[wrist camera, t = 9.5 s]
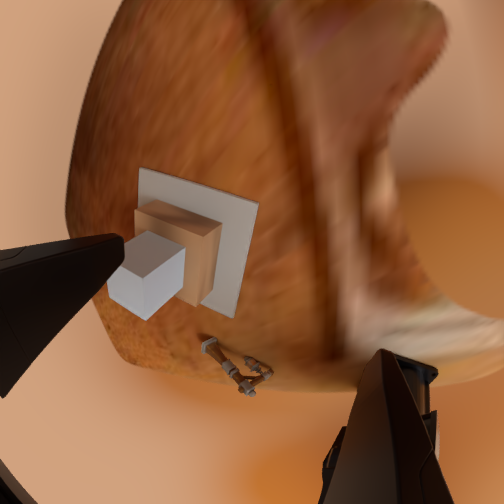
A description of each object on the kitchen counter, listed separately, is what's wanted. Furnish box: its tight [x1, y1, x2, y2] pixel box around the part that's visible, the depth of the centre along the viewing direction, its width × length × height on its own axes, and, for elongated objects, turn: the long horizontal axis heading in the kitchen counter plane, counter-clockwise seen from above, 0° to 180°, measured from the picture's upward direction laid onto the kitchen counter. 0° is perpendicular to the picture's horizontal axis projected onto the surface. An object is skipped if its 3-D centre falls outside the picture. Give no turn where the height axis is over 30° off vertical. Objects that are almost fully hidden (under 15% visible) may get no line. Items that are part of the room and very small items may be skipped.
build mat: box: [138, 167, 259, 319], centre depth 25 cm, size 12×12×1 cm
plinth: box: [134, 199, 223, 307], centre depth 24 cm, size 7×7×3 cm
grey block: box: [107, 230, 186, 321], centre depth 20 cm, size 4×4×5 cm
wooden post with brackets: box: [201, 337, 274, 397], centre depth 28 cm, size 2×8×4 cm, turn 78°
